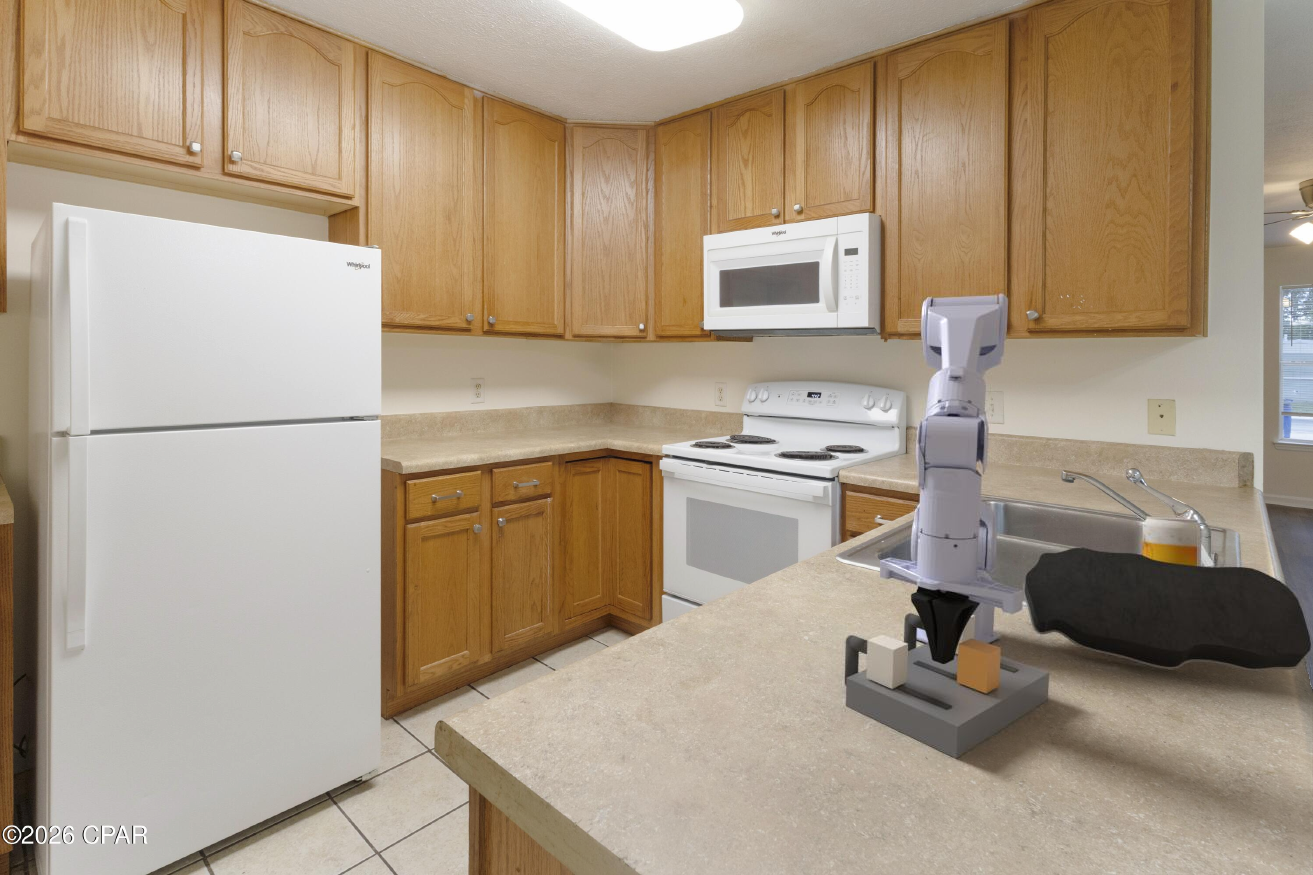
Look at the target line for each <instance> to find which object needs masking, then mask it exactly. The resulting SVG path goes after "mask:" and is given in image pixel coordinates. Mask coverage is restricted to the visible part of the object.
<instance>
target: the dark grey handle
mask: <svg viewBox="0 0 1313 875" xmlns="http://www.w3.org/2000/svg"><path fill="white" fill-rule="evenodd" d="M903 623H904V626H903V627H904V628H903V642H904V643H907V644H908V651H910V650H912V649H915V648H917V641H918V640H917V628H919V629H922V630H925V629H924V626H923V623H922V621H921V618H920V616H919V614H914V613H911V612H910V613H907V614H906V615H905V616H904V622H903ZM867 641H868V639H864V638H862V637H859V636H857V635H854V634H853V635H852V634H850V635H848V636H847V637H846V638H845V654H844V655H845V656H844V685H845V686H846V680H847V677H850V676H852V675H854V674H857V673H859V664H860V662H859V661H860V659H859V654H860V653H862V654H864V655H867Z"/></svg>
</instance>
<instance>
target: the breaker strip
mask: <svg viewBox="0 0 1313 875" xmlns="http://www.w3.org/2000/svg"><path fill="white" fill-rule="evenodd" d="M957 668H958V654H956V653H955V657H954V660H952V661H950V662H948V663H946V664H941V663H938V662H936V661H933V660H932V657H931V652H930V647H929V643H926V642H925V643H924V644H922V645H920V646H916V648H915V649H912V650H910V651H908V660H907V682H905V683H903V684H901V685H899V686H897V687H895V688H893V689H891V688H889V687H886V686H884V685H882V684H879V683H877V682H875V681H872V680H870V679H868V678H866V674H867V668H866V669H864V670H861V671H858V673H857V674H854V675H852V676H850V677H847V680H846V685H845V687H846V688H845V689H846V690H845V706H846V707H847V708H850V709H852V710H854V711H856V712H859V714H860V713H861V714H863V715H864V716H867V717H869V718H871V719H873V720H874V721H877V722H879V723H881V724H884V725H885V726H887V727H889V728H892V729H893V730H895V731H898V732H900V733H902V734H904V735H906V736H908V737H911V738H913V739H915V740H916V741H918V742H920V743H922V744H924V745H927V746H929V747H931V748H933V749H935V750H937V751H940V752H941V753H944V754H945V755H948V756H950V757H952V758H954V759H958V758H960V757H961V756H963V755H964V754H965V753H967V752H969V751H971V750H972V749H973V748H975V747H976V746H979V744H981V743H983V742H985V741H986V740H987V739H989V738H991V737H992V736H994V735H996V734H997V733H998V732H1000V731H1002V730H1003V729H1004V728H1006V727H1008V726H1010V724H1012V723H1014V722H1015V721H1017V720H1019V719H1021V717H1023V716H1025V715H1026V714H1028V713H1029V712H1031V711H1033V710H1035V709H1036V708H1038V706H1040V705H1042V704H1044V703H1045V702H1047V701H1048V700H1049V699H1048V698H1049V685H1050V684H1049V682H1050V672H1049V671H1046V670H1044V669H1041V668H1037V667H1034V666H1031V665H1027V664H1025V663H1021V662H1019V661H1016V660H1014V659H1010V658H1008V657H1004V656H1000V676H999V687H997V688H995V689H993V690H992V691H990V692H988V693H984V692H981V691H978V690H976V689H973V688H971V687H968V686H965V685H963V684H960V683H958V682H957Z"/></svg>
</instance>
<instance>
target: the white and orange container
mask: <svg viewBox="0 0 1313 875" xmlns="http://www.w3.org/2000/svg"><path fill="white" fill-rule="evenodd" d="M1198 521H1199V520H1198V519H1193V518H1191V519H1190V518H1181V517H1180V518H1179V517H1165V516H1164V517H1163V516H1146V519H1145V521H1144V522H1143V524H1142V551H1141V552H1142V554H1141V555H1143V556H1146V557H1148V558H1150V559H1153V560H1157V561H1162V562H1167V563H1175V564H1183V565H1192V566H1202V527H1201V525H1200V524H1199V522H1198Z"/></svg>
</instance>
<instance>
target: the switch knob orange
mask: <svg viewBox="0 0 1313 875" xmlns="http://www.w3.org/2000/svg"><path fill="white" fill-rule="evenodd" d="M1001 650H1002V647H1001V646H997V645H994V644H991V643H985V642H982V641H979V640H976V639H973V638H971V639H968V640H966V641H964V642H962V643H960V644H959V645H958V668H957V682H958V683H960V684H963V685H965V686H968V687H971V688H973V689H976V690H978V691H981V692H984V693H988V692H990V691H992V690H993V689H995V688H997V687H999V676H1000V656H1001V655H1002V651H1001Z"/></svg>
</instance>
